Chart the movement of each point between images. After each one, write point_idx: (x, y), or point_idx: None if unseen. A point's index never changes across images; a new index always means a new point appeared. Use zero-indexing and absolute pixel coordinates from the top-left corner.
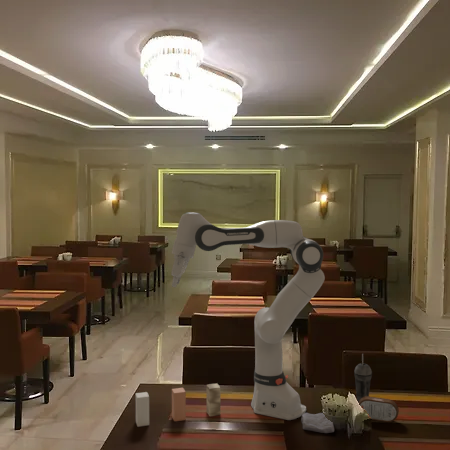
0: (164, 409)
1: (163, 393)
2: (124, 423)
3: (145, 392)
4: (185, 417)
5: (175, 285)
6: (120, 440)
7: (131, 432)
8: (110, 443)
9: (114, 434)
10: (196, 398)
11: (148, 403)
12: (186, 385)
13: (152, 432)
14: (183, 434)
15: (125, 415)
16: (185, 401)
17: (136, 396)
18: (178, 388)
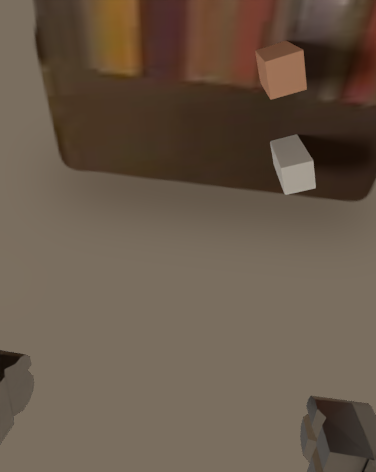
0: (216, 105)
1: (117, 115)
2: (278, 185)
3: (284, 171)
4: (287, 41)
5: (372, 429)
6: (353, 183)
7: (324, 167)
8: (360, 199)
9: (324, 197)
10: (143, 10)
11: (308, 154)
12: (50, 49)
13: (336, 123)
14: (370, 42)
15: (240, 188)
16: (296, 46)
17: (301, 190)
18: (270, 77)
